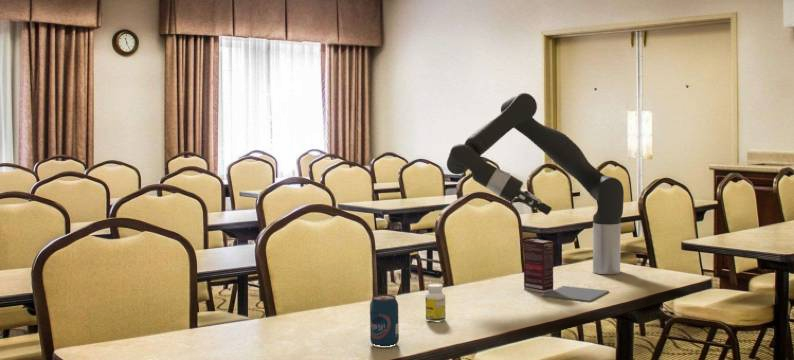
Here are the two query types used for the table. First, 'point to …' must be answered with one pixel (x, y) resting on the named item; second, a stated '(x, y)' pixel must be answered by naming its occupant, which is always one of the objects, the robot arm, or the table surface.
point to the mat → (576, 293)
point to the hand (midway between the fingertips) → (549, 211)
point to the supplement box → (538, 265)
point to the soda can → (384, 320)
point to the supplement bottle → (435, 303)
